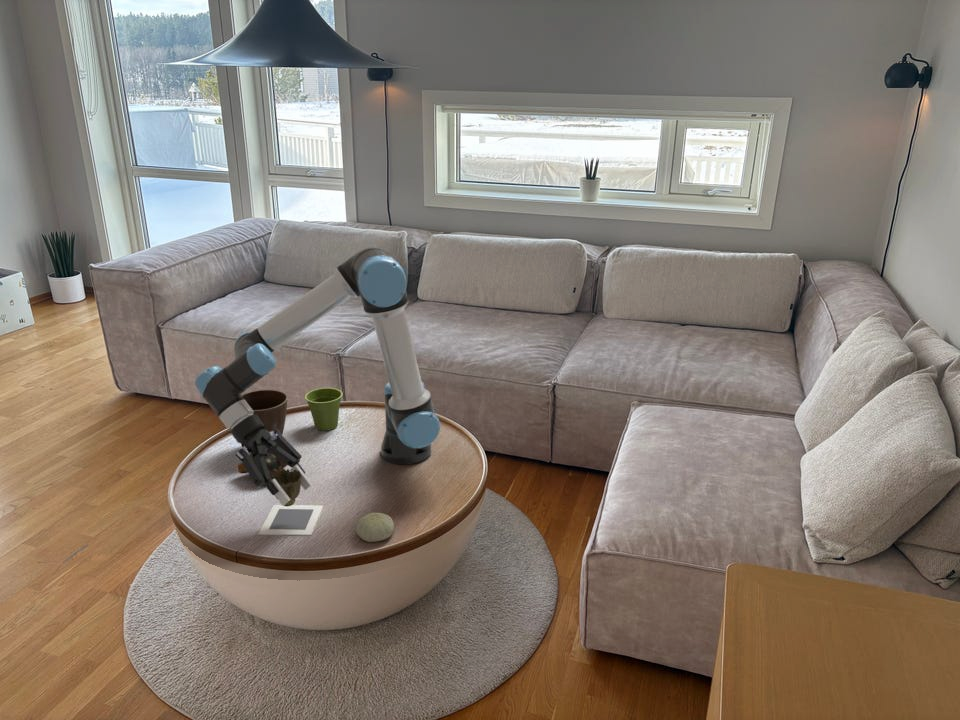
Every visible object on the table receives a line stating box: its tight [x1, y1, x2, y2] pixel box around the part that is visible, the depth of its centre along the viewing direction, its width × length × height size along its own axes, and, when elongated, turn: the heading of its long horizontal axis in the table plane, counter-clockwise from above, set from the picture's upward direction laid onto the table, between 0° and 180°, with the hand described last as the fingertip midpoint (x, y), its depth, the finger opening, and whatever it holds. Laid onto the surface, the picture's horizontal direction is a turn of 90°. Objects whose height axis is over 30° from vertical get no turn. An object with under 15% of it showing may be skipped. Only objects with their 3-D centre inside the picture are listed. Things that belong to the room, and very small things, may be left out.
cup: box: [271, 468, 302, 506], centre depth 178 cm, size 8×7×8 cm
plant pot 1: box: [241, 389, 288, 447], centre depth 215 cm, size 15×15×16 cm
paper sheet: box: [258, 504, 324, 536], centre depth 181 cm, size 13×13×1 cm
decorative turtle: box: [237, 452, 288, 477], centre depth 201 cm, size 10×15×8 cm, turn 103°
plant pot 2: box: [304, 387, 344, 432], centre depth 230 cm, size 12×12×11 cm
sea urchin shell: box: [355, 511, 395, 543], centre depth 175 cm, size 9×8×8 cm
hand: (298, 494), depth 177 cm, fingers closed on cup, 7 cm apart
